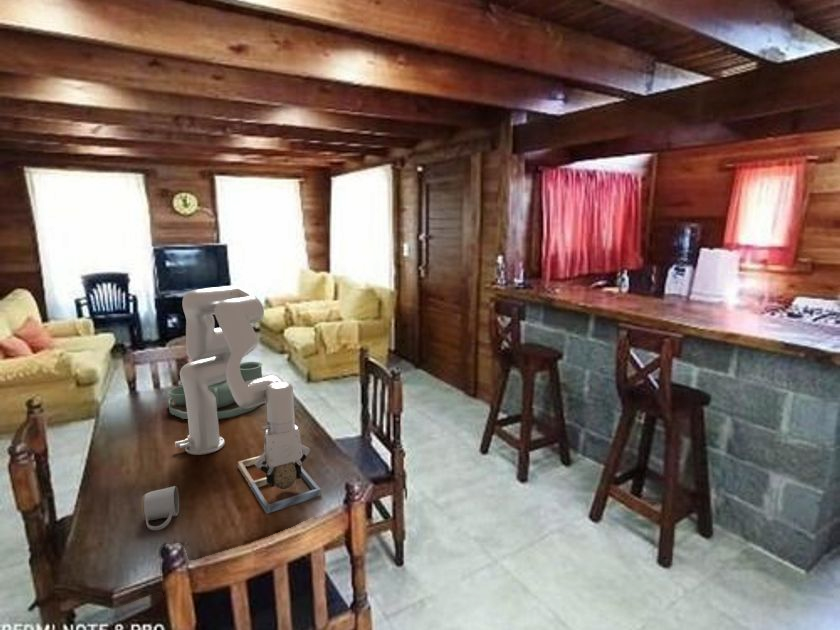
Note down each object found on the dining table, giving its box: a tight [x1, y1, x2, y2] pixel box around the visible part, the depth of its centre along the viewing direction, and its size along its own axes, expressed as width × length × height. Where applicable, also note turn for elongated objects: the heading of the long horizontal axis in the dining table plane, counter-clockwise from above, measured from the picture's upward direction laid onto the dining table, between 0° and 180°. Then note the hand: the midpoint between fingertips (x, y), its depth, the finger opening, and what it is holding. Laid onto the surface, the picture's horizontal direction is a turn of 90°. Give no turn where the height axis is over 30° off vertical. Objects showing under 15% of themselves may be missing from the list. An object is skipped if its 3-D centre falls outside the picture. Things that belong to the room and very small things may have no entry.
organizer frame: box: [237, 455, 322, 515], centre depth 148 cm, size 16×30×2 cm, turn 34°
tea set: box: [168, 361, 263, 420], centre depth 208 cm, size 40×40×16 cm
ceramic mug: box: [140, 485, 180, 531], centre depth 128 cm, size 11×8×8 cm
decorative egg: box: [272, 462, 297, 490], centre depth 141 cm, size 7×7×10 cm
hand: (284, 480), depth 142 cm, fingers closed on decorative egg, 7 cm apart
